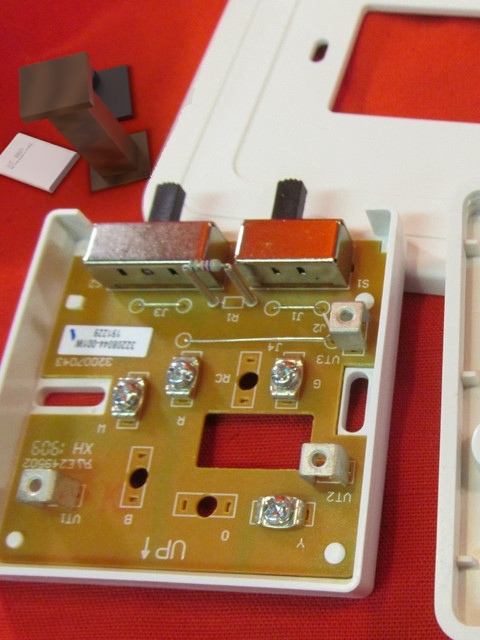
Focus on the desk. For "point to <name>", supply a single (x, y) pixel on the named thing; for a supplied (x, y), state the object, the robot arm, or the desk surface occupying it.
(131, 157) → the stand
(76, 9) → the desk surface
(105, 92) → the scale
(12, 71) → the desk surface
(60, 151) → the hard drive
